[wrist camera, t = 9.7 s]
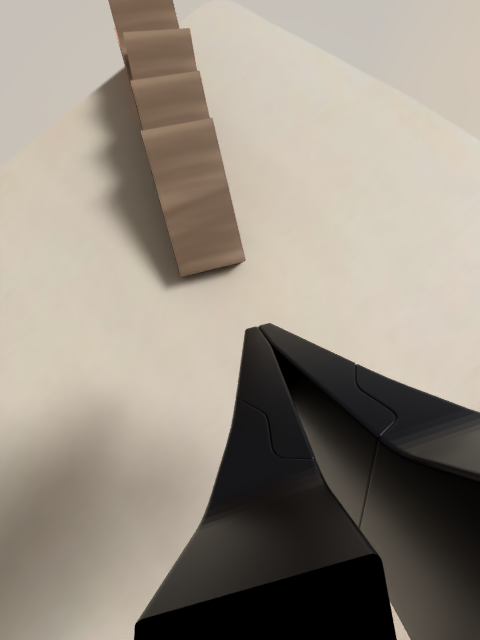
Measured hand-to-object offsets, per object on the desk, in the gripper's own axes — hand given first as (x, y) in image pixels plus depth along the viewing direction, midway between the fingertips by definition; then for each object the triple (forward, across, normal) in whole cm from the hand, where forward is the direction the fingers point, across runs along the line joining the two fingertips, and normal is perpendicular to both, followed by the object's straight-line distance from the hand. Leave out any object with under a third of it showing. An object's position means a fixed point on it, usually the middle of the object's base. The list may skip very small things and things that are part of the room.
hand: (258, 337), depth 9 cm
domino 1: (+13, 0, +2) cm, 13 cm away
